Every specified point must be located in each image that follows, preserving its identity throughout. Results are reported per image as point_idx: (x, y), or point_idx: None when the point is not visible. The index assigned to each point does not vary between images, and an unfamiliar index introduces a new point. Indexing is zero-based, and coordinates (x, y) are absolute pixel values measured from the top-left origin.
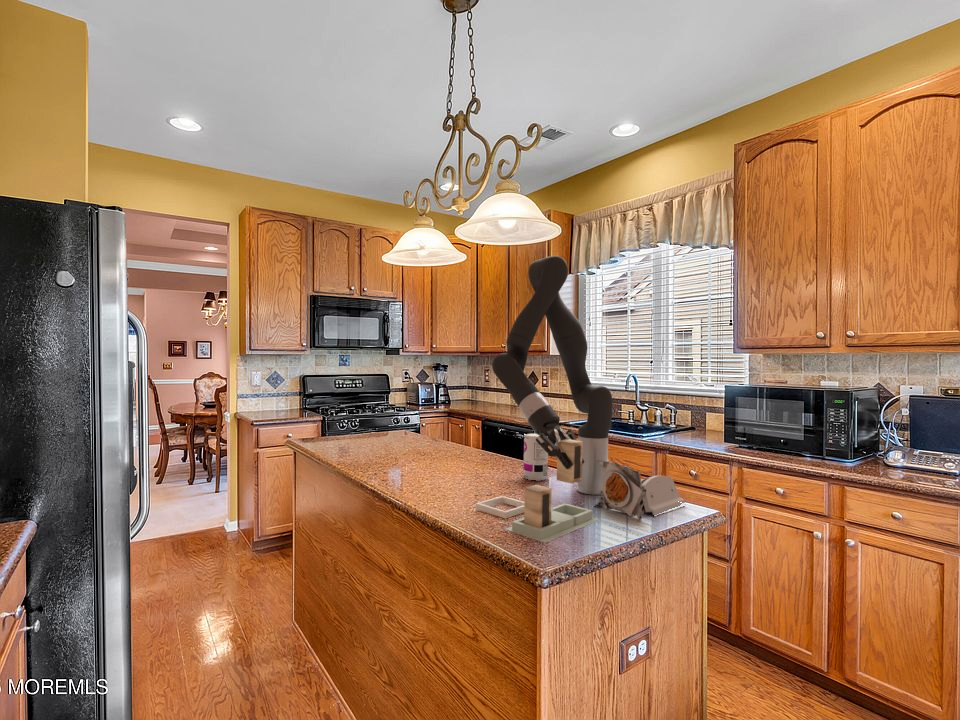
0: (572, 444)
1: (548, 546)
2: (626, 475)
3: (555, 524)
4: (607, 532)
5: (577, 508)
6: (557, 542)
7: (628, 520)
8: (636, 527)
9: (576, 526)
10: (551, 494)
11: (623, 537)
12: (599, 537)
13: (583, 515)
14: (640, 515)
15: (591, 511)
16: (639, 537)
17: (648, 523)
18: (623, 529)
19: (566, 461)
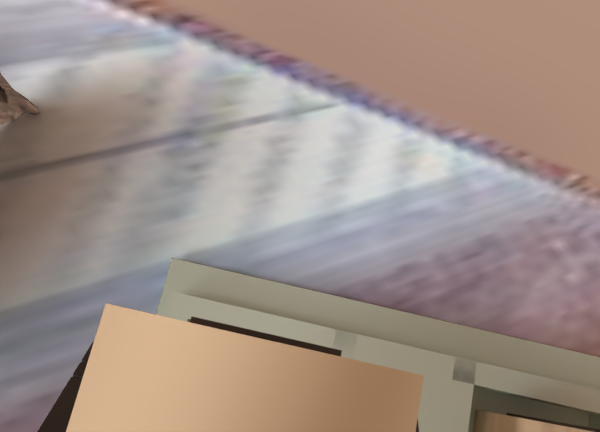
0: (417, 378)
1: (597, 355)
2: None
3: (511, 376)
4: (281, 195)
5: None
6: (532, 341)
7: (52, 157)
8: (140, 105)
9: (347, 322)
10: (574, 428)
11: (303, 123)
12: (363, 207)
13: (264, 313)
14: (23, 96)
15: (184, 294)
16: (265, 69)
17: (52, 71)
18: (201, 146)
19: (418, 425)
